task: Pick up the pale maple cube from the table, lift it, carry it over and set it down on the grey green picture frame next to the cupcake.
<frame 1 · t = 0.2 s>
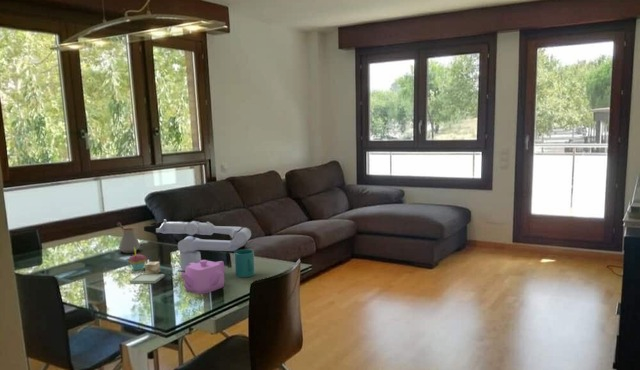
hand: (147, 227, 232), 21 cm above the table, tool horizontal, fingers open, 7 cm apart
pink lidded box: (204, 289, 204), on the table
cup: (246, 276, 220), on the table
coffee pot: (126, 250, 274), on the table
grey green picture frame: (147, 279, 218), on the table
maple cube: (153, 273, 228), on the table
cupcake: (138, 268, 236), on the table
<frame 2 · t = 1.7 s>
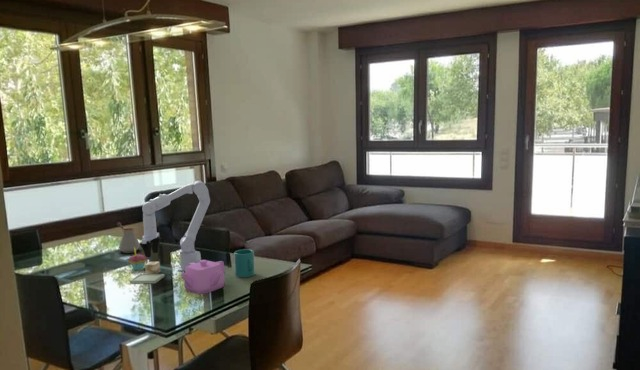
hand: (151, 254, 227), 9 cm above the table, tool pointing down, fingers open, 7 cm apart
nothing on the table moved.
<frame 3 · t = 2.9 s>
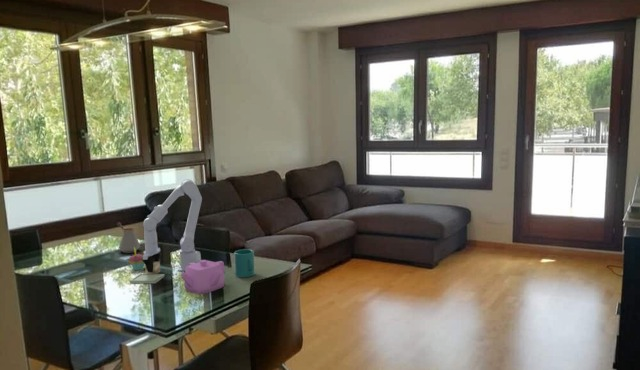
hand: (152, 270, 228), 1 cm above the table, tool pointing down, fingers closed on maple cube, 5 cm apart
maple cube: (153, 273, 228), on the table, touching gripper
everything else where it was.
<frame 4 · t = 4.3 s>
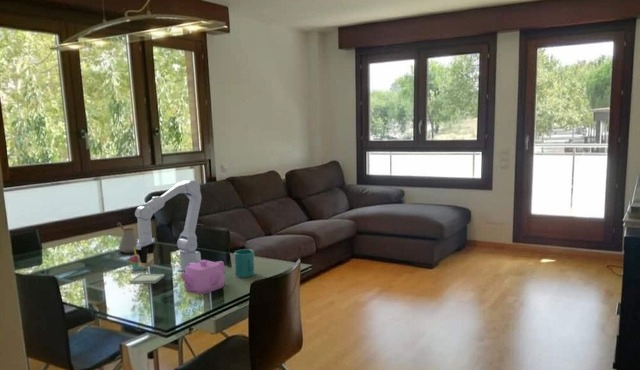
hand: (146, 261, 218), 8 cm above the table, tool pointing down, fingers closed on maple cube, 5 cm apart
maple cube: (146, 265, 218), point 7 cm above the table, touching gripper
everything else where it was.
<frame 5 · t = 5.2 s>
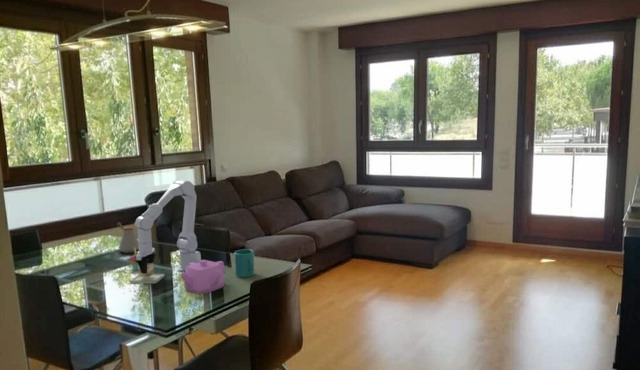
hand: (146, 271, 217), 4 cm above the table, tool pointing down, fingers closed on maple cube, 5 cm apart
maple cube: (146, 275, 218), point 2 cm above the table, touching gripper
everything else where it was.
when the fingers open (3 cm above the table, at t = 5.8 s): maple cube stays where it is, resting on grey green picture frame.
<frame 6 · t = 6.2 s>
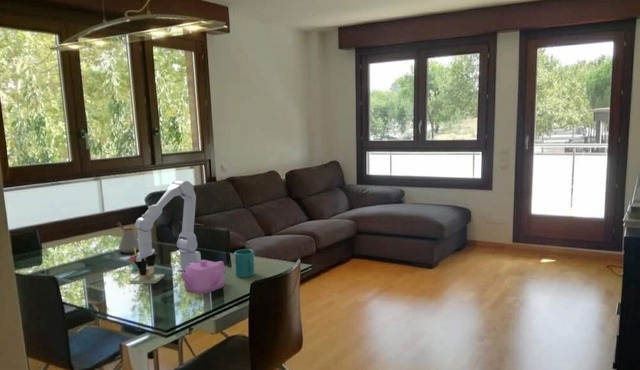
hand: (147, 272, 217), 3 cm above the table, tool pointing down, fingers open, 7 cm apart
maple cube: (146, 277, 218), point 1 cm above the table, touching grey green picture frame
everything else where it was.
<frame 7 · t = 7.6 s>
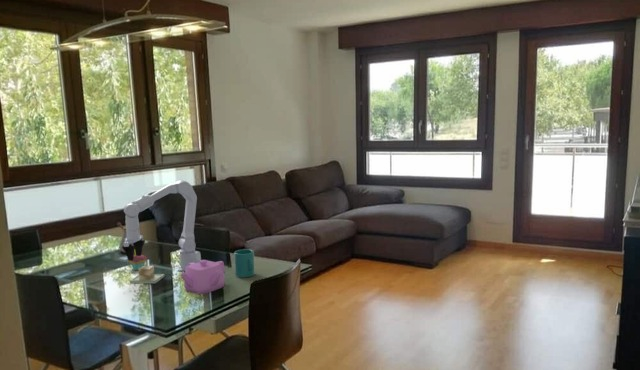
hand: (134, 258, 220), 9 cm above the table, tool pointing down, fingers open, 7 cm apart
nothing on the table moved.
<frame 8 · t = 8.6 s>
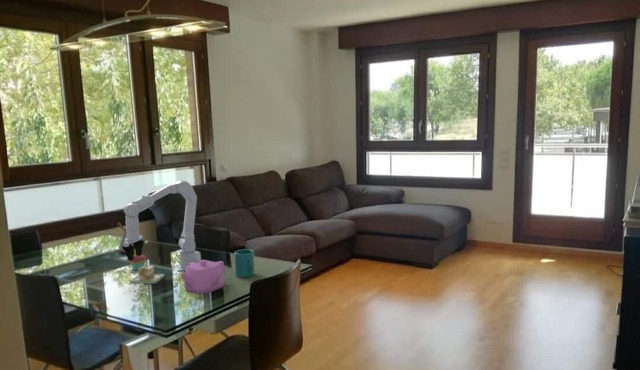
hand: (134, 258, 220), 9 cm above the table, tool pointing down, fingers open, 7 cm apart
nothing on the table moved.
at the end: maple cube inside the target area on the grey green picture frame (0.3 cm from its centre), point 0.8 cm above the grey green picture frame's base; maple cube tilted 0°; the gripper is holding nothing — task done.
